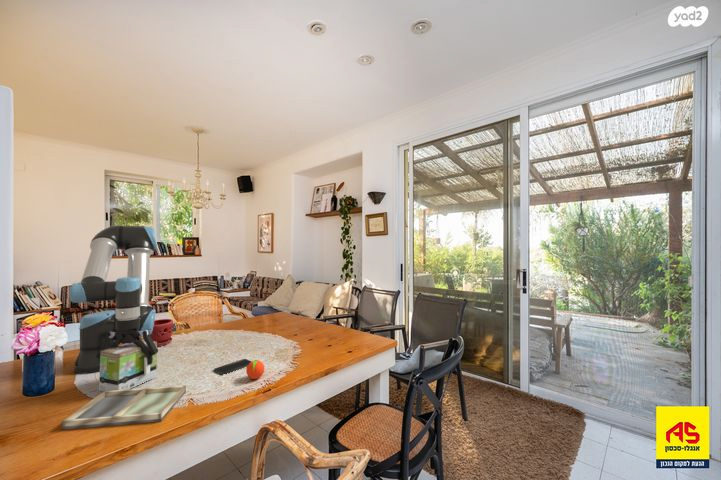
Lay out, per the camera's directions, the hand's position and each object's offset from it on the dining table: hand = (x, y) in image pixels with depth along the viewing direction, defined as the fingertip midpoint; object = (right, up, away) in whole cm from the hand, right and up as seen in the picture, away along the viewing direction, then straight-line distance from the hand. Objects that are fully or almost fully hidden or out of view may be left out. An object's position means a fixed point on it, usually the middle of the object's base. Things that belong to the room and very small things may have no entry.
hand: (127, 374), depth 118 cm
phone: (+34, -5, +17) cm, 38 cm away
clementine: (+47, -4, +5) cm, 47 cm away
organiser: (+14, -4, -17) cm, 22 cm away
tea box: (0, -4, 0) cm, 4 cm away
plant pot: (-19, -4, +47) cm, 51 cm away
